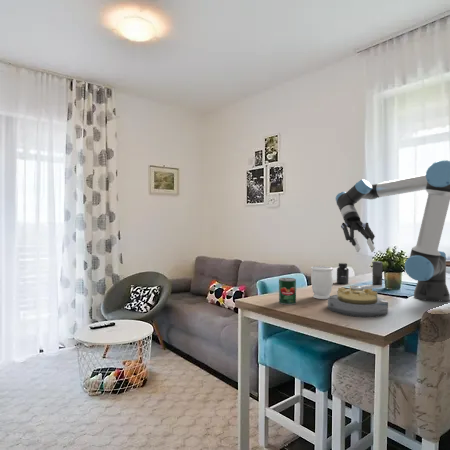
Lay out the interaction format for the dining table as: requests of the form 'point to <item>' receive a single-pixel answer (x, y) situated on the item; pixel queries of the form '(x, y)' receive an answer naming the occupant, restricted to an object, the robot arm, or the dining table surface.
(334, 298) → the grey serving platter
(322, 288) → the jar
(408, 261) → the robot arm
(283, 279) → the canned tomato
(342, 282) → the supplement bottle
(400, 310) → the dining table surface
